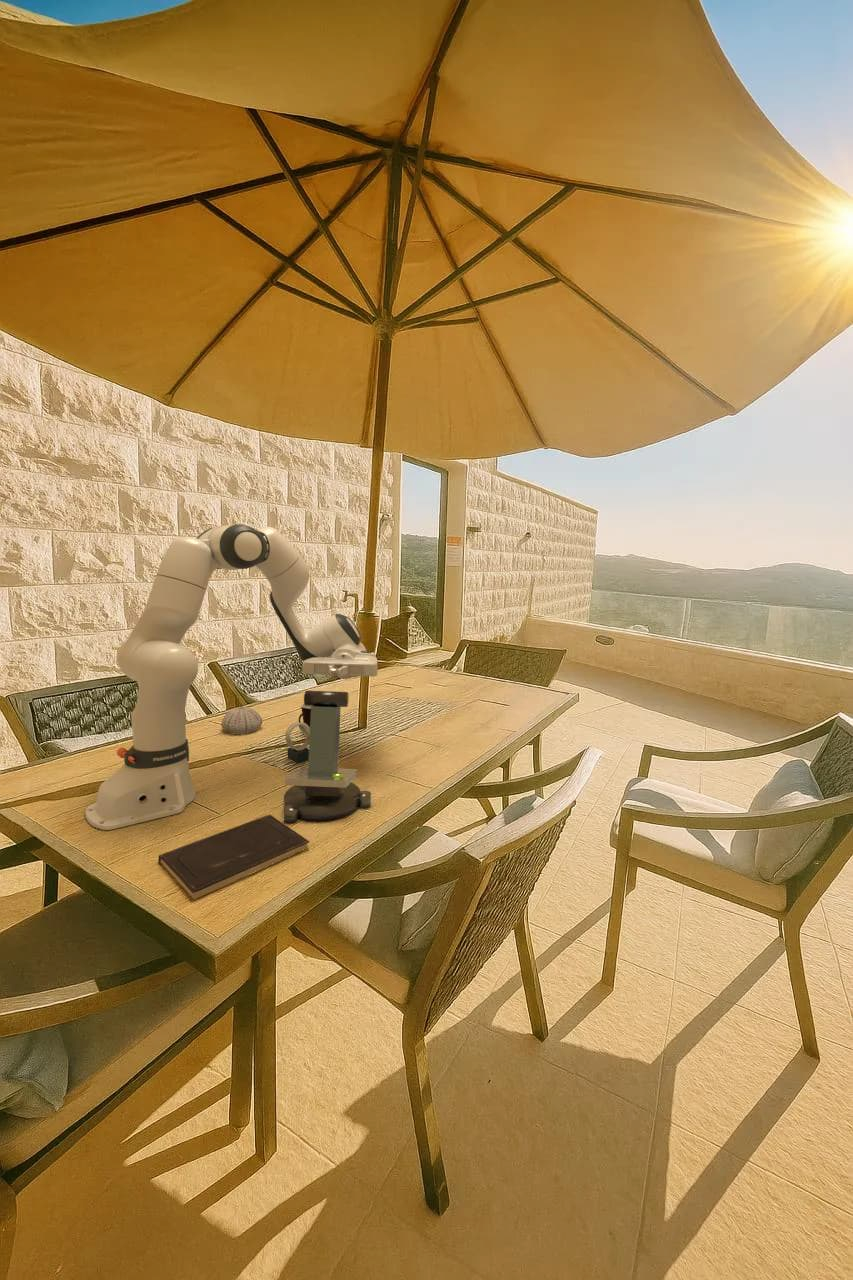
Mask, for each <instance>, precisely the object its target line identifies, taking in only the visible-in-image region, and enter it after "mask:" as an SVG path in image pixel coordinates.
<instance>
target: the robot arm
mask: <svg viewBox="0 0 853 1280" xmlns="http://www.w3.org/2000/svg"><path fill="white" fill-rule="evenodd" d="M253 567H257V569H259V570H260V572H261V574H262V575H263V576H264V577H265V578H266V580H267V581H268V583H269V584H270V585H269V586H270V589H271V591H270V593H269V600H270V604H271V606H272V608H273V610H274V612H275V614H276V615H277V617H278V619H279V621H280V622H281V624H282V626H283V628H284V629H285V631H286V633H287V634H288V636H289V638H290V640H291V641H292V643H293V646H294V647H295V650H296V652H297V654H298V656H299V657H300V659H301V660H302V665H301V666H302V669H301V670H302V673H303V674H304V675H317V676H318V675H319V676H329V677H337V678H339V679H342V680H349V679H351V678H357V677H358V678H359V677H377V676H378V659H377V656H376V655H377V654H376V653H375V652H371V651H367V649H366V647H365V645H364V644H363V642H361V639H362V638H361V634H360V633H361V632H360V631H359V628H358V627H357V625H356V624H355V622H354V621H353V620H352V619H351V618H350V617H349V616H346V615H345V614H341V613H335V614H333V615H331V616H330V617H328V618H326V619H325V620H323V621H322V622H320V623H318V624H317V625H315V626H313V627H312V628H309V629H304V628H303V626H302V624H301V622H300V621H299V618H298V617H297V615H296V614H295V612H294V609H293V608H294V605H295V603H296V601H297V600H298V599H299V598H300V596H301V595H302V594H303V593H304V591H305V589H306V587H307V586H308V583H309V580H310V568H309V566H308V564H307V562H306V561H305V560H304V558H303V556H302V555H301V554H300V553H299V552H298V550H297V549H296V548H295V547H294V545H293V544H292V543H291V542H290V541H289V540H288V539H287V538H286V536H285V535H283V534H282V533H281V532H280V531H279V530H278V529H276V528H275V527H272V526H263V527H260V528H257V529H255V528H253V527H252V526H249V525H246V524H238V523H237V524H221V525H219V526H218V525H217V526H214V527H210V528H207V529H206V530H204V531H203V532H202V533H200V534H199V535H198V536H197V537H193V536H179V537H176V538H175V539H174V540H172V542H171V543H170V544H169V546H168V547H167V550H166V551H165V554H164V555H163V557H162V560H161V562H160V564H159V566H158V569H157V572H156V575H155V578H154V581H153V583H152V587H151V590H150V593H149V596H148V599H147V602H146V604H145V606H144V609H143V611H142V613H141V614H140V617H139V618H138V620H137V622H136V624H135V625H134V627H133V629H132V631H130V634H129V636H128V638H127V639H126V640H125V641H124V642H123V643H122V644H121V645H120V646H119V647H118V650H117V651H116V663H117V665H118V667H119V669H120V671H121V672H122V673H123V674H124V675H125V676H126V677H127V678H129V679H130V680H133V681H135V682H136V683H137V684H138V685H137V686H138V693H137V699H136V704H135V707H134V709H133V711H132V712H131V731H132V746H131V747H130V748H129V749H127V748H125V747H119V748H118V749H117V751H116V755H117V756H118V757H119V758H121V759H123V760H124V762H123V763H124V764H123V765H122V766H121V767H119V768H118V769H117V770H116V771H115V772H114V773H113V774H111V775H110V776H109V777H108V778H106V779H105V780H104V781H103V782H102V783H101V784H100V786H99V788H98V791H97V796H96V802H94V803H92V804H90V805H88V806H87V808H86V810H85V815H86V816H85V820H86V819H87V820H86V821H87V822H88V823H89V824H90V825H91V826H92V827H94V828H95V827H96V828H95V829H98V828H99V829H98V830H103V831H111V830H115V829H120V828H123V827H127V826H131V825H132V826H133V825H136V824H140V823H144V822H149V821H152V820H157V819H160V818H164V817H169V816H172V815H177V814H180V813H183V811H184V810H185V809H186V806H187V805H188V804H190V803H191V802H192V801H193V800H194V799H195V798H196V795H197V793H196V790H195V789H194V785H193V782H192V779H191V774H190V769H189V762H190V760H189V759H190V757H189V756H190V749H189V748H190V747H189V741H188V739H187V733H186V731H187V730H186V729H187V728H186V706H187V700H188V695H189V691H190V686H191V685H192V683H194V681H195V679H196V678H197V675H198V672H199V663H198V661H197V658H196V656H195V655H194V654H193V653H192V652H191V651H190V650H189V649H188V648H186V647H185V646H183V645H182V644H180V643H181V642H182V640H183V638H184V636H185V635H186V633H187V632H188V631H189V629H190V628H191V627H192V626H194V625H195V623H196V622H197V621H198V618H199V614H200V612H201V608H202V605H203V602H204V599H205V596H206V592H207V589H208V586H209V581H210V578H211V577H212V575H213V573H214V572H215V571H216V570H228V571H237V570H247V569H250V568H253ZM328 656H330V657H328Z"/></svg>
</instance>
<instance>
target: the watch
mask: <svg viewBox="0 0 853 1280" xmlns="http://www.w3.org/2000/svg"><path fill="white" fill-rule="evenodd" d="M297 727H298V728H299V730H300V732H301V733H302V735H304V737H305V740H304V742H303V743H302V744H298V745H295V744H294V742H293V740H292V737H291V734H292V732H293V731H294V729H295V728H297ZM285 731H286V732H285V735H284V736H285V739H284V740H285V742H286V743H287V745H288V747H287V759H289V760H290V761H291V762H293V761H294V762H293V763H295V764H298V763H299V764H302V763H305V762H308V759H309V739H310V727H309V726H308V725H307V724H305V723H304V722H303V721H302V722H301V723H300V722H299V721H297V722H292V724H291V725H289V726H288V727H287V729H286V730H285ZM307 747H308V748H307Z"/></svg>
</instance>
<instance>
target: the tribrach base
mask: <svg viewBox="0 0 853 1280" xmlns="http://www.w3.org/2000/svg"><path fill="white" fill-rule="evenodd" d="M371 805H372V793H371V791H369V790H361V789H360V787H359V786H358V785H356V784H355V783H354V782H353V781H351V783H350V784H349V785H348V786H347V787H346V788H340V787H317V786H295V785H291V787H290V788H288V789H287V790H286V791H285V792H284V795H283V824H285V825H293V823H294V824H297V823H298V822H299V821H301V822H306V823H327V822H334V821H337V820H341V819H344V818H346V816H347V817H348V816H350V815H352V814H354V813H355V812H356V811H358V810H359V809H363V810H364V809H369V808H371ZM340 818H341V819H340ZM297 821H298V822H297Z"/></svg>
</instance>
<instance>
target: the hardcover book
mask: <svg viewBox="0 0 853 1280" xmlns="http://www.w3.org/2000/svg"><path fill="white" fill-rule="evenodd" d="M309 843H310V840H308V839H307V838H305V837H304V836H303V835H301V834H299V833H298V832H297V831H295V830H293V829H292V828H290V827H289V826H287V824H286V823H284V822H282V821H280V820H279V819H277V817H274V816H273V815H271V814H270V813H269V814H266V815H263V816H262V817H259V818H256V819H253V820H250V821H248V822H244V823H242V824H240V825H237V826H235V827H231V828H229V829H226V830H223V831H220V832H218V833H215V834H213V835H209V836H207V837H204V838H202V839H199V840H197V841H194V842H190V843H188V844H185V845H183V846H180V847H177V848H173V849H172V850H169V851H167V852H164V853H160V854H158V863H159V864H160V863H161V865H163V866H164V868H165V869H166V870H167V871H168V872H169V873H170V874H171V875H172V876H173V878H174V879H175V880H176V881H177V882H178V883H179V884H180V885H181V887H182V888H183V889H184V890H185V891H186V892H187V893H188V894H189V895H190V897H191V898H192V899H193V900H195V899H199V898H200V897H203V896H205V895H207V894H209V893H212V892H214V891H217V890H218V889H221V888H223V887H225V886H227V885H229V884H231V883H234V882H237V881H238V879H239V880H241V879H243V878H245V877H247V876H246V875H248V874H250V873H252V874H254V873H256V872H258V871H257V870H259V869H261V868H263V869H265V868H267V867H266V866H268V865H270V864H272V863H274V864H276V863H278V862H277V861H279V860H281V861H283V860H285V859H287V858H286V857H288V856H290V857H292V856H294V855H296V854H295V853H297V852H299V851H301V852H303V851H304V850H303V849H305V850H307V849H308V847H309V845H308V844H309ZM306 848H307V849H306ZM302 850H303V851H302ZM299 853H300V852H299ZM293 854H294V855H293ZM297 854H298V853H297ZM291 855H292V856H291ZM284 858H285V859H284ZM288 858H289V857H288ZM282 859H283V860H282ZM275 862H276V863H275ZM279 862H280V861H279ZM272 865H273V864H272ZM270 866H271V865H270ZM264 867H265V868H264ZM268 867H269V866H268ZM261 870H262V869H261ZM255 871H256V872H255ZM259 871H260V870H259ZM253 872H254V873H253ZM250 875H251V874H250ZM244 876H245V877H244ZM248 876H249V875H248ZM242 877H243V878H242ZM240 878H241V879H240Z"/></svg>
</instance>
